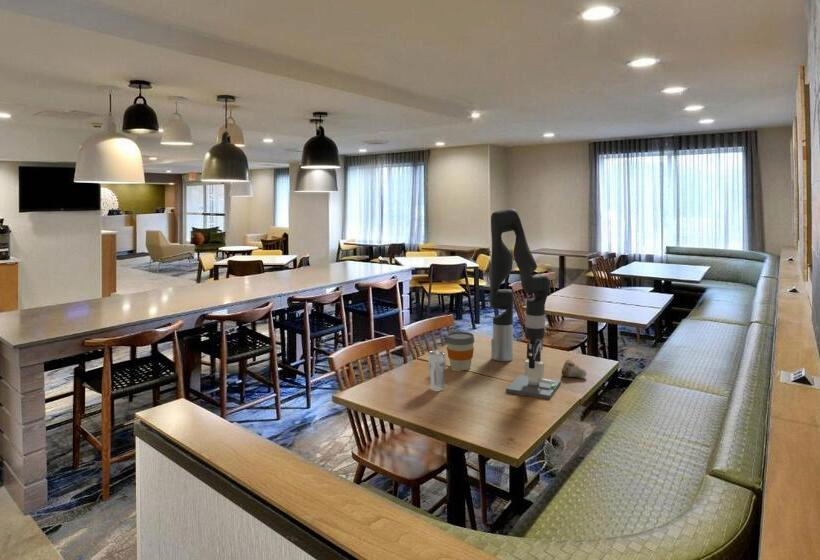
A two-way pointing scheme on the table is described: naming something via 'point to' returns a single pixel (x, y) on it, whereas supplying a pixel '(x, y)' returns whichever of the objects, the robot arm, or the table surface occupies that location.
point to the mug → (573, 370)
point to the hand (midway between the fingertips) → (534, 364)
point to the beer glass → (437, 369)
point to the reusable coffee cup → (460, 349)
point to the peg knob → (535, 373)
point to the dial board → (533, 387)
